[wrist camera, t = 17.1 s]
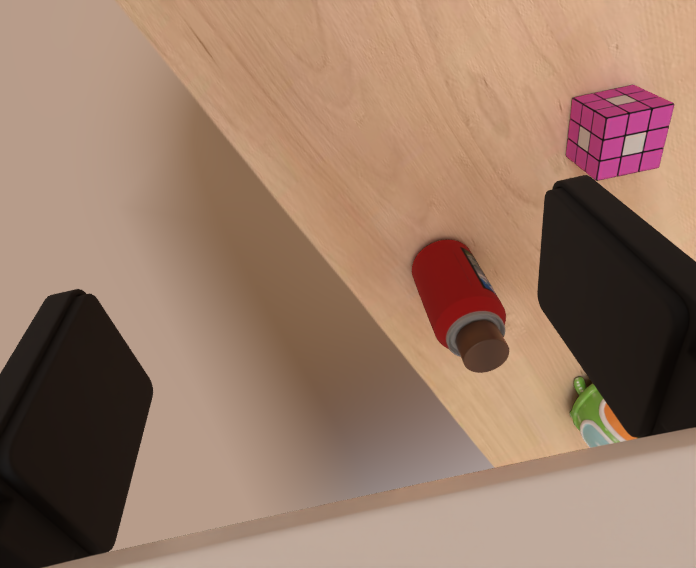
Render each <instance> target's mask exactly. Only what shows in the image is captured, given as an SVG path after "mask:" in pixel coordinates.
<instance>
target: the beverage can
mask: <svg viewBox="0 0 696 568" xmlns="http://www.w3.org/2000/svg"><path fill="white" fill-rule="evenodd" d="M412 275H413V278H414V281H415V284H416V287H417V289H418V292H419V295H420V297H421V300H422V303H423V305H424V308H425V310H426V313H427V316H428V318H429V321H430V323H431V326H432V328H433V331H434V333H435V336H436V338H437V340H438V341H439V342H440V343H441V344H442V345H443V346H444V347H446V348H448V349H449V350H450V351H451V352H452V353H454V354H455V355H457V356H460V353H459V351H458V349H457V346H456V343H455V340H456V336H457V334H458V332H459V331H460V330H461V329H462V328H463V327H464V326H466V325H467V324H469V323H472V322H475V321H479V320H486V321H491V322H493V323H494V324H496V325H497V327H498V329H499V330H500V332H501V334H502V336H503V337H504V335H505V321H506V313H505V309H504V307H503V305H502V304H501V302H500V300H499V298H498V297H497V295H496V293H495V291H494V290H493V288H492V286H491V284H490V283H489V281H488V279H487V278H486V276H485V274H484V273H483V271H482V269H481V268H480V266H479V264H478V263H477V261H476V259H475V258H474V256H473V255H472V253H471V251H470V250H469V248H468V247H467V246H466V245H464V244H463V243H461V242H459V241H455V240H440V241H437V242H434V243H432V244H430V245H428V246H426V247H425V248H424V249H422V250H421V251H420V252H419V253H418V255H417V256H416V258H415V260H414V262H413V265H412ZM460 357H461V356H460Z"/></svg>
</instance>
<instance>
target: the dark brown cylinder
mask: <svg viewBox="0 0 696 568" xmlns="http://www.w3.org/2000/svg"><path fill="white" fill-rule="evenodd" d="M455 343H456V346H457V349H458V351H459V353H460V356H461V358H462V360H463V363H464V365H465V367H466V368H467V369H469V370H470V371H473V372H478V373H482V372H488V371H491V370H494V369H496V368H498V367H499V366H501V365H502V364H503V363H504V362H505V361H506V359H507V358H508V355H509V347H508V345H507V343H506V341H505V339H504V338H503V336H502V334H501V332H500V330H499V329H498V327H497V325H496V324H494V323H493V322H491V321H486V320H479V321H475V322H472V323H469V324H467V325H466V326H464V327H463V328H462V329H461V330H460V331H459V332H458V334H457V336H456V340H455Z"/></svg>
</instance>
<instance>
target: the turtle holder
mask: <svg viewBox="0 0 696 568" xmlns="http://www.w3.org/2000/svg"><path fill="white" fill-rule="evenodd" d="M574 387H575V390H576V391H577V393H578V394H579V397H578V398H577V400H576V401H575V403H574V405H573V408H572V410H571V411H570V413H569V415H570V416H571V418H572V419H573V422H574V424H575V426H576V427H577V428H578V429H579V430H580V432H581V435H582V438H583V440H584V441H585V442H586V444H587V445H588V446H589V447H590V448H592V447H597V446H602V445H607V444H612V443H617V442H622V441H628V440H633V439H638V438H639V437H632V436H630V435H629V434H628V433H627V432H626V430H625V429H624V428H623V426H622V425H621V423H620V422H619V420H618V419H617V418H616V416H615V415H614V413H613V412H612V410H611V409H610V407H609V406H608V405H607V403H606V402H605V400H604V399H603V397H602V396H601V394H600V393H599V392H598V390H597V389H596V387H595V386H594V384H593V383H592V384H591V385H590V386H588V387H586V384H585V381H584V379H583V378H582V377H577V378H575V380H574Z"/></svg>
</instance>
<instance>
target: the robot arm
mask: <svg viewBox="0 0 696 568" xmlns="http://www.w3.org/2000/svg"><path fill="white" fill-rule="evenodd" d="M538 301H539V304H540V307H541V309H542V310H543V312H544V313H545V315H546V316H547V318H548V319H549V321H550V322H551V323H552V325H553V326H554V328H555V329H556V331H557V332H558V334H559V335H560V337H561V338H562V339H563V341H564V342H565V344H566V345H567V347H568V348H569V350H570V351H571V352H572V354H573V355H574V357H575V358H576V360H577V361H578V363H579V364H580V365H581V367H582V368H583V370H584V371H585V373H586V374H587V376H588V377H589V378H590V380H591V381H592V383H593V384H594V386H595V387H596V389H597V390H598V392H599V393H600V394H601V396H602V397H603V399H604V400H605V402H606V403H607V405H608V406H609V407H610V409H611V410H612V412H613V413H614V415H615V416H616V418H617V419H618V420H619V422H620V423H621V425H622V426H623V428H624V429H625V430H626V432H627V433H628V434H629V435H630V436H632V437H639V438H638V439H633V440H628V441H622V442H617V443H612V444H607V445H602V446H597V447H592V448H587V449H582V450H577V451H572V452H568V453H563V454H558V455H553V456H549V457H544V458H539V459H535V460H530V461H525V462H520V463H516V464H511V465H506V466H502V467H497V468H492V469H487V470H483V471H478V472H473V473H468V474H464V475H460V476H454V477H450V478H445V479H440V480H435V481H431V482H427V483H422V484H417V485H412V486H408V487H403V488H399V489H394V490H389V491H384V492H380V493H375V494H371V495H366V496H361V497H357V498H352V499H347V500H343V501H338V502H334V503H329V504H324V505H320V506H315V507H311V508H306V509H301V510H297V511H293V512H288V513H283V514H279V515H274V516H270V517H265V518H260V519H256V520H251V521H246V522H242V523H237V524H233V525H228V526H224V527H219V528H215V529H210V530H206V531H202V532H197V533H192V534H188V535H183V536H179V537H174V538H170V539H165V540H161V541H157V542H152V543H147V544H143V545H138V546H134V547H130V548H125V549H121V550H116V551H111V552H109V551H110V550H111V549H112V548H113V546H114V544H115V541H116V537H117V533H118V529H119V526H120V522H121V517H122V514H123V509H124V506H125V502H126V498H127V494H128V490H129V487H130V483H131V479H132V475H133V471H134V467H135V462H136V459H137V455H138V451H139V447H140V443H141V440H142V436H143V432H144V428H145V424H146V420H147V416H148V412H149V408H150V404H151V400H152V396H153V387H152V383H151V380H150V378H149V377H148V375H147V374H146V372H145V371H144V369H143V368H142V366H141V365H140V363H139V362H138V360H137V359H136V357H135V356H134V354H133V353H132V351H131V349H130V348H129V346H128V345H127V343H126V342H125V340H124V339H123V337H122V336H121V334H120V333H119V331H118V330H117V328H116V327H115V325H114V324H113V322H112V321H111V319H110V318H109V316H108V315H107V313H106V312H105V310H104V309H103V307H102V305H101V304H100V303H99V301H98V299H97V298H96V297H95V296H94V295H92V294H86V293H85V292H84V291H82V290H80V289H76V290H71V291H67V292H62V293H58V294H54V295H50V296H48V297H47V298H46V299H45V301H44V302H43V304H42V306H41V307H40V309H39V311H38V312H37V314H36V315H35V317H34V319H33V320H32V322H31V324H30V325H29V327H28V329H27V330H26V332H25V334H24V335H23V337H22V339H21V340H20V342H19V344H18V345H17V347H16V349H15V350H14V352H13V353H12V355H11V357H10V358H9V360H8V362H7V364H6V365H5V367H4V369H3V370H2V372H1V374H0V568H696V262H695V261H694V260H693V259H692V258H690V257H689V256H688V255H687V254H685V253H684V252H683V251H682V250H680V249H679V248H678V247H677V246H675V245H674V244H673V243H672V242H671V241H669V240H668V239H667V238H666V237H664V236H663V235H662V234H661V233H659V232H658V231H657V230H656V229H654V228H653V227H652V226H651V225H649V224H648V223H647V222H646V221H644V220H643V219H642V218H641V217H640V216H638V215H637V214H636V213H635V212H633V211H632V210H631V209H630V208H628V207H627V206H626V205H625V204H623V203H622V202H621V201H620V200H618V199H617V198H616V197H615V196H613V195H612V194H611V193H610V192H609V191H607V190H606V189H605V188H604V187H602V186H601V185H600V184H599V183H597V182H596V181H595V180H594V179H592V178H591V177H590V176H588V175H583V176H578V177H574V178H569V179H565V180H560V181H557V182H556V183H555V184H554V186H553V189H552V190H549V191H547V192H546V194H545V200H544V213H543V226H542V239H541V253H540V266H539V279H538ZM106 552H107V553H106Z"/></svg>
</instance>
